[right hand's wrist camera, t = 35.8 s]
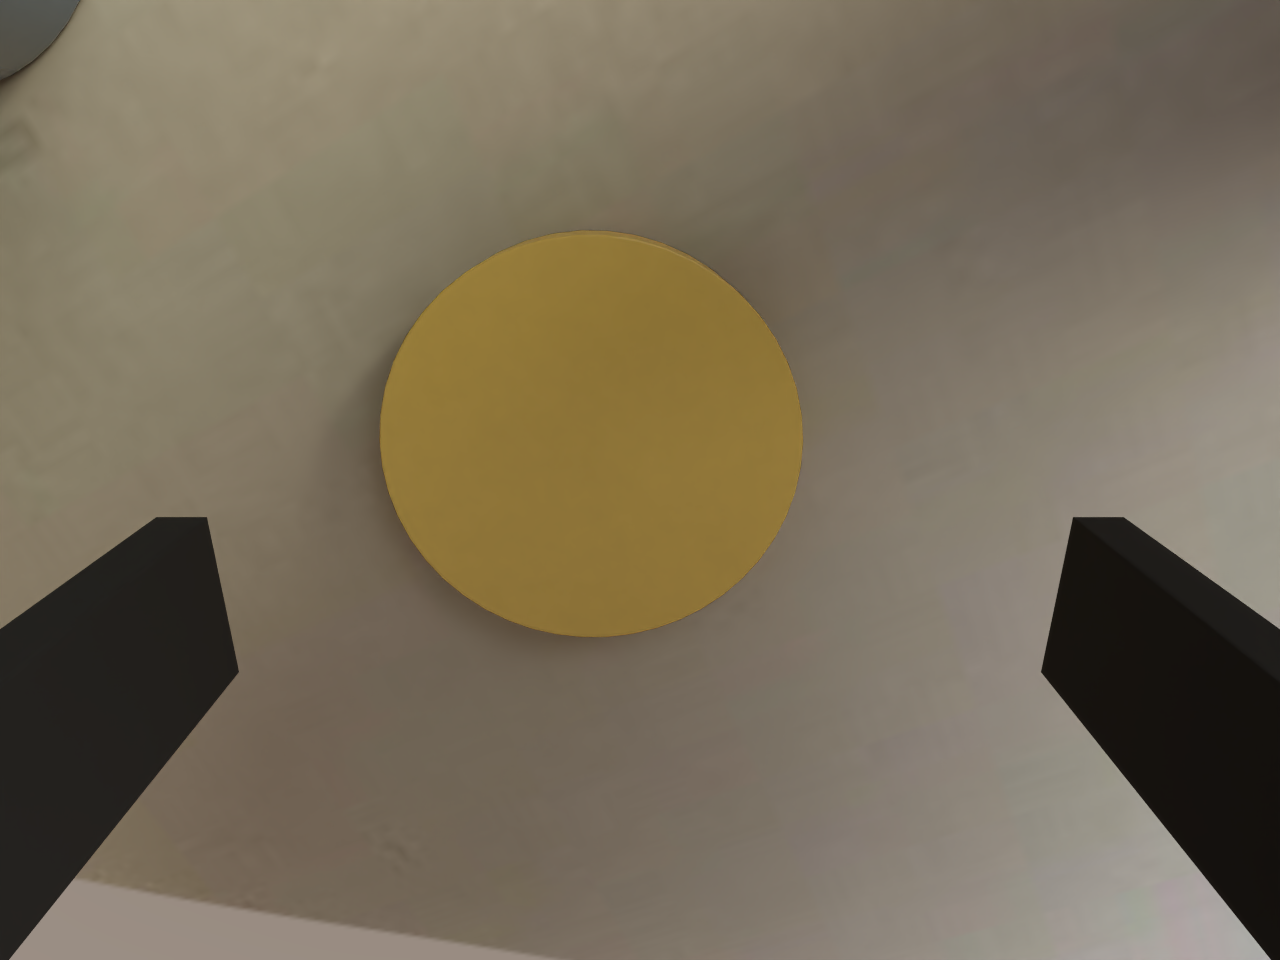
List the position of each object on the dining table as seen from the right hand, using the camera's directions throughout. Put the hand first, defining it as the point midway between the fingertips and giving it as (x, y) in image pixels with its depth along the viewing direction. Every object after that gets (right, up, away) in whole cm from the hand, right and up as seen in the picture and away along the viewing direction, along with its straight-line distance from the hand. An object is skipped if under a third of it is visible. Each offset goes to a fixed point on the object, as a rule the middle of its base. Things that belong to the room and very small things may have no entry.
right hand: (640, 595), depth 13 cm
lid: (-1, +3, +8) cm, 8 cm away
